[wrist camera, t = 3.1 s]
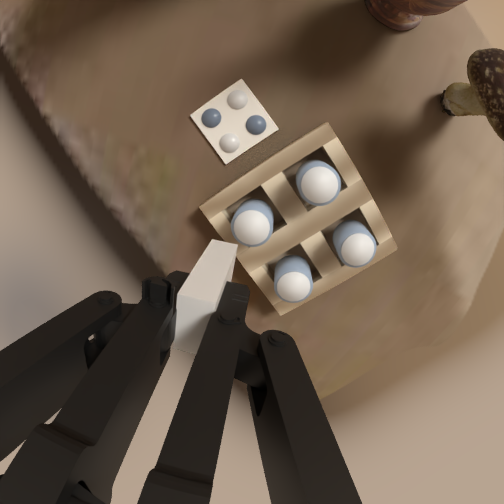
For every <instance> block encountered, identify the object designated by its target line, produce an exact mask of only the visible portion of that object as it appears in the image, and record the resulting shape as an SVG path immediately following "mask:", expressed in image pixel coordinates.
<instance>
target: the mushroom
mask: <svg viewBox="0 0 504 504" xmlns="http://www.w3.org/2000/svg"><path fill="white" fill-rule="evenodd" d="M467 75H468V79H469V81H470V84H467V83H453V84H451V85H449V86H448V87H447V89H446V90H444V91H443V93H442V95H441V105H442V107H443V109H444V110H443V111H442V112H446V113H447V114H448V115H451V116H467V115H473V116H474V115H477V116H478V115H485V116H486V117H487V119H488V121H489V123H490V125H491V126H492V127H493V129H494V131H495V132H496V133H497V135H498V136H499V137H500V138H501V139H502V140H503V141H504V51H503V50H501V49H495V48H491V49H484V50H477V51H475V52H474V53H473V54H472V55H471V56H470V58H469V60H468V64H467Z"/></svg>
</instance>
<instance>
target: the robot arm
mask: <svg viewBox="0 0 504 504" xmlns="http://www.w3.org/2000/svg"><path fill="white" fill-rule="evenodd" d="M237 247H238V245H237V244H233V243H228V242H223V241H218V240H214V239H212V240H211V242H210V243H209V245H208V246H207V248H206V249H205V251H204V253H203V254H202V256H201V257H200V259H199V260H198V262H197V263H196V265H195V267H194V268H193V270H192V271H191V273H190V274H189V273H185V272H181V271H177V270H176V271H174V272H172V273H170V274H169V275H168V276H167V277H166V278H164V277H158V276H157V277H148V278H146V279H144V280H143V281H142V299H141V300H140V302H139V303H138V304H127V303H122V299H121V297H120V295H118V294H117V293H115V292H112V291H99V292H97V293H94V294H92V295H91V296H89V297H88V298H86V299H84V300H83V301H81V302H79V303H77V304H75V305H74V306H72V307H71V308H69V309H67V310H65V311H64V312H62V313H60V314H59V315H57V316H56V317H54V318H52V319H51V320H49V321H47V322H46V323H44V324H42V325H41V326H39V327H37V328H36V329H34V330H33V331H31V332H30V333H28V334H26V335H25V336H23V337H21V338H20V339H18V340H17V341H15V342H14V343H12V344H10V345H9V346H7V347H6V348H4V349H3V350H1V351H0V461H2V460H3V459H4V458H5V457H7V456H8V455H9V454H10V453H11V452H12V451H13V450H15V449H16V448H17V447H18V446H19V445H20V444H21V443H22V442H24V440H26V441H25V442H24V444H23V445H22V447H21V448H20V450H19V451H18V453H17V454H16V456H15V458H14V459H13V461H12V462H11V464H10V465H9V467H8V469H7V470H6V472H5V474H2V475H0V504H110V502H111V498H112V486H113V483H114V481H115V478H116V475H117V473H118V471H119V469H120V466H121V464H122V462H123V459H124V457H125V455H126V452H127V450H128V448H129V445H130V443H131V441H132V438H133V436H134V434H135V432H136V429H137V427H138V425H139V422H140V420H141V418H142V416H143V414H144V411H145V409H146V407H147V405H148V402H149V400H150V398H151V396H152V394H153V391H154V389H155V387H156V385H157V383H158V380H159V378H160V376H161V374H162V372H163V369H164V367H165V365H166V363H167V361H168V359H169V357H170V346H171V344H172V342H173V340H174V344H173V348H174V349H177V350H181V351H184V352H188V353H192V354H196V356H195V359H194V362H193V365H192V367H191V370H190V372H189V375H188V378H187V381H186V383H185V386H184V389H183V392H182V394H181V397H180V400H179V403H178V405H177V408H176V411H175V413H174V416H173V419H172V422H171V425H170V427H169V430H168V433H167V436H166V438H165V441H164V444H163V447H162V450H161V453H160V455H159V458H158V461H157V464H156V466H155V468H154V469H152V470H151V471H150V472H149V474H148V476H147V478H146V481H145V483H144V486H143V489H142V492H141V495H140V498H139V500H138V503H137V504H209V502H210V497H211V492H212V487H213V479H214V474H215V469H216V464H217V459H218V455H219V449H220V445H221V439H222V434H223V429H224V424H225V420H226V414H227V409H228V404H229V399H230V394H231V389H232V384H233V379H234V378H235V379H238V380H240V381H242V382H244V383H246V384H247V391H248V396H249V401H250V406H251V411H252V416H253V421H254V426H255V431H256V435H257V440H258V445H259V449H260V454H261V459H262V464H263V468H264V473H265V477H266V482H267V486H268V490H269V495H270V499H271V504H362V502H361V500H360V497H359V495H358V492H357V490H356V487H355V485H354V483H353V480H352V478H351V475H350V473H349V470H348V468H347V466H346V464H345V461H344V458H343V456H342V454H341V451H340V449H339V446H338V444H337V441H336V439H335V437H334V434H333V432H332V429H331V427H330V425H329V422H328V420H327V417H326V415H325V413H324V410H323V408H322V405H321V403H320V401H319V398H318V396H317V393H316V391H315V389H314V386H313V384H312V381H311V379H310V377H309V374H308V372H307V369H306V367H305V365H304V362H303V360H302V358H301V355H300V353H299V350H298V348H297V346H296V343H295V341H294V340H293V338H292V337H291V336H290V335H288V334H287V333H284V332H282V331H278V330H267V331H265V332H263V333H262V334H261V335H260V334H257V333H255V332H253V331H252V330H250V329H249V328H248V327H247V325H246V323H245V316H246V310H247V305H248V300H249V295H250V290H249V288H248V287H247V285H243V284H238V283H233V282H231V279H232V274H233V269H234V263H235V258H236V253H237ZM91 335H94V338H93V339H92V340H88V338H89V337H90V336H91ZM61 408H62V409H61ZM60 409H61V410H60ZM59 410H60V412H59V413H58V415H57V416H56V418H55V419H54V421H53V422H52V423H50V424H44V423H45V422H46V421H47V420H48V419H50V418H51V417H52V416H53V415H54V414H55V413H56V412H58V411H59Z"/></svg>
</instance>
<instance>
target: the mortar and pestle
mask: <svg viewBox="0 0 504 504" xmlns="http://www.w3.org/2000/svg"><path fill="white" fill-rule="evenodd" d="M465 1H467V0H365V3H366V6H367V8H368V10H369V12H370V13H371V14H372V15H373V16H374V17H375V18H376V19H377V20H378V21H380V22H381V23H383V24H384V25H386V26H388V27H390V28H392V29H396V30H409V29H412V28H414V27H417V26H418V25H419V23H420V21H421V20H422V18H423V16H429V15H437V14H441V13H444V12H446V11H449V10H450V9H452V8H454V7H456V6H458V5H460V4H461V3H463V2H465Z"/></svg>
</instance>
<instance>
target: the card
mask: <svg viewBox="0 0 504 504" xmlns="http://www.w3.org/2000/svg"><path fill="white" fill-rule="evenodd" d="M190 116H191V118H192V119H193V120H194V122H195V123H196V124H197V126H198V127H199V128H200V130H201V131H202V132H203V134H204V135H205V137H206V138H207V139H208V141H209V142H210V143H211V145H212V146H213V147H214V149H215V150H216V152H217V153H218V154H219V156H220V157H221V158H222V160H223V161H224V163H225V164H228V163H229V162H230V161H232V160H233V159H235V158H236V157H238V156H239V155H241V154H242V153H244V152H245V151H247V150H248V149H249V148H251V147H252V146H254V145H255V144H257V143H258V142H260V141H261V140H263V139H265V138H266V137H268V136H269V135H271V134H272V133H274V132H275V131H277V130H278V127H277V126H276V124H275V123H274V122H273V120H272V119H271V117H270V116H269V115H268V113H267V112H266V110H265V109H264V108H263V106H262V105H261V104H260V102H259V101H258V100H257V98H256V97H255V96H254V94H253V93H252V92H251V90H250V89H249V88H248V86H247V85H246V84H245V82H244V81H243V80H242V79H240V80H239V81H237V82H236V83H234V84H233V85H231V86H230V87H228V88H227V89H226V90H224V91H223V92H221V93H220V94H218V95H217V96H216V97H214V98H213V99H211V100H210V101H209V102H207V103H206V104H205V105H203V106H202V107H200V108H199V109H198V110H196V111H195V112H194V113H193V114H191V115H190Z"/></svg>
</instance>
